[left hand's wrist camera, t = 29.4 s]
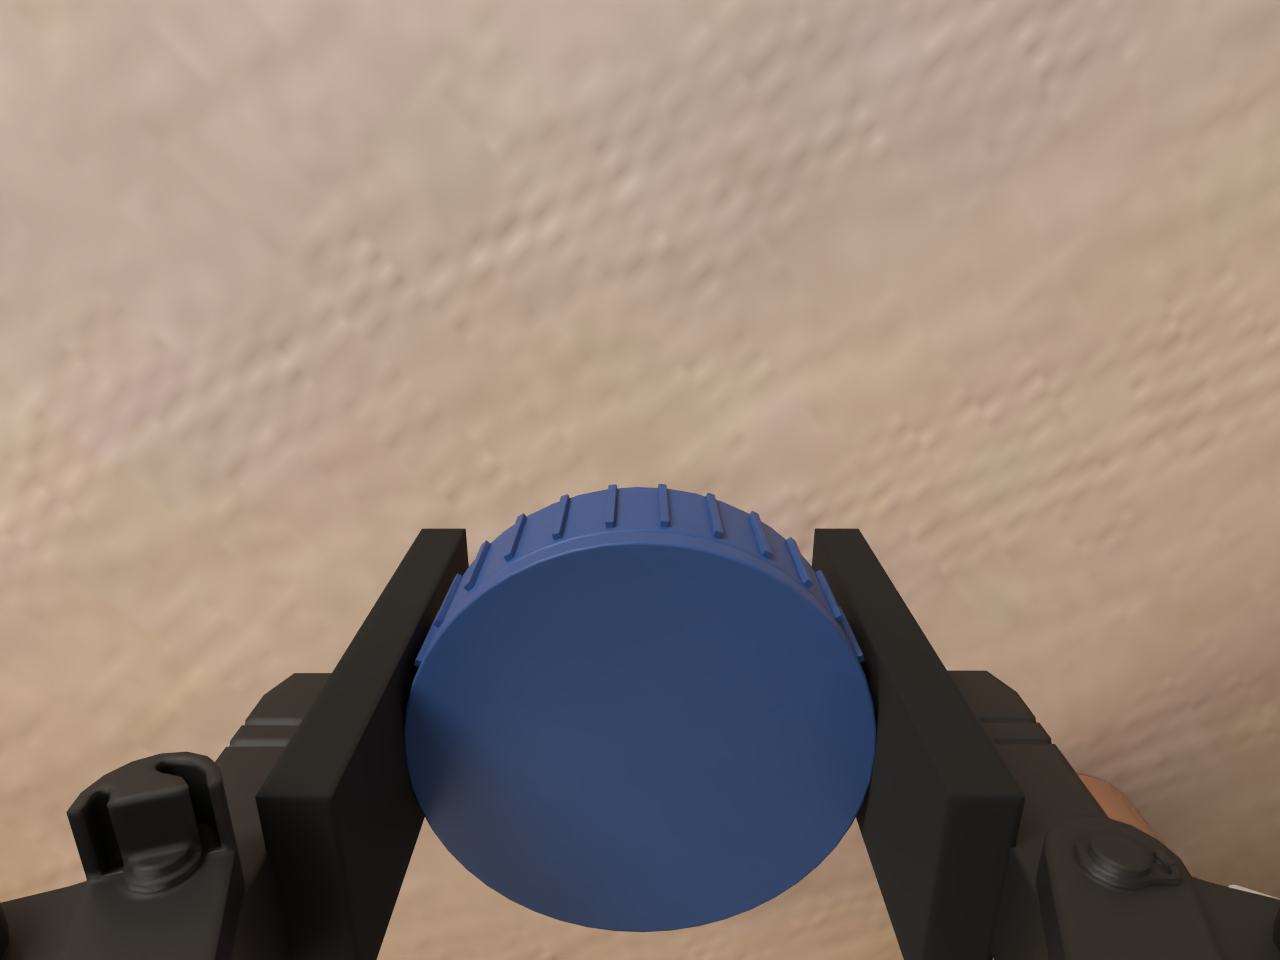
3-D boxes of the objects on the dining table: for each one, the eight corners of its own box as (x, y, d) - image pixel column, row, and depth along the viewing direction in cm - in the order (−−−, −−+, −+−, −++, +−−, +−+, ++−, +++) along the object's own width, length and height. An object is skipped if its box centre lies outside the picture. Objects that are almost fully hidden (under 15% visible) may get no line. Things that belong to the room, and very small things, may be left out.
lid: (834, 837, 13) (863, 935, 12) (451, 840, 13) (423, 939, 12) (866, 478, 11) (907, 533, 9) (409, 483, 11) (366, 539, 9)
